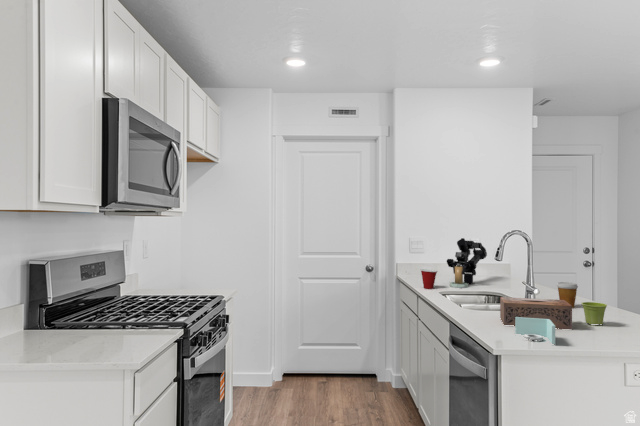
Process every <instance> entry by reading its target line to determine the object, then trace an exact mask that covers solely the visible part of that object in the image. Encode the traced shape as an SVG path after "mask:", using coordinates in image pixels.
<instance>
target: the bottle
mask: <svg viewBox="0 0 640 426" xmlns="http://www.w3.org/2000/svg"><path fill="white" fill-rule="evenodd" d="M462 270H463V267H462V265H461V264H460V263H457V265H456V266H455V274H454V282H455V284H463V283H464V275H463V274H462Z"/></svg>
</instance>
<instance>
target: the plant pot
mask: <svg viewBox="0 0 640 426" xmlns="http://www.w3.org/2000/svg"><path fill="white" fill-rule="evenodd" d="M581 305H582V308H583V312H584V318H585V324H586V323H589V324H603V323H604V317H605V312H606V309H607V307H608V304H606V303H601V302H595V301H593V302H592V301H586V302H585V301H584V302H581ZM589 324H588V325H589Z"/></svg>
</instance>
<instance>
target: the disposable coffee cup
mask: <svg viewBox="0 0 640 426" xmlns="http://www.w3.org/2000/svg"><path fill="white" fill-rule="evenodd" d="M556 287H557V291H558V292H557V293H558V300H564V301H566V302H567V303H569V304H570V305H572V309H574V308H575V305H576V299H577V289H578V287H579V286H578V284H577V283H575V282H568V281H566V282H563V281H560V282H557V284H556Z"/></svg>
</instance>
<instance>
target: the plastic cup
mask: <svg viewBox="0 0 640 426" xmlns="http://www.w3.org/2000/svg"><path fill="white" fill-rule="evenodd" d="M420 273H421V278H422V284H423V288H425V289H424V290H433V289H434V286H435V281H436V276H437V273H438V270H435V269H434V270H433V269H427V268H426V269H422V268H421V269H420Z"/></svg>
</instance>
